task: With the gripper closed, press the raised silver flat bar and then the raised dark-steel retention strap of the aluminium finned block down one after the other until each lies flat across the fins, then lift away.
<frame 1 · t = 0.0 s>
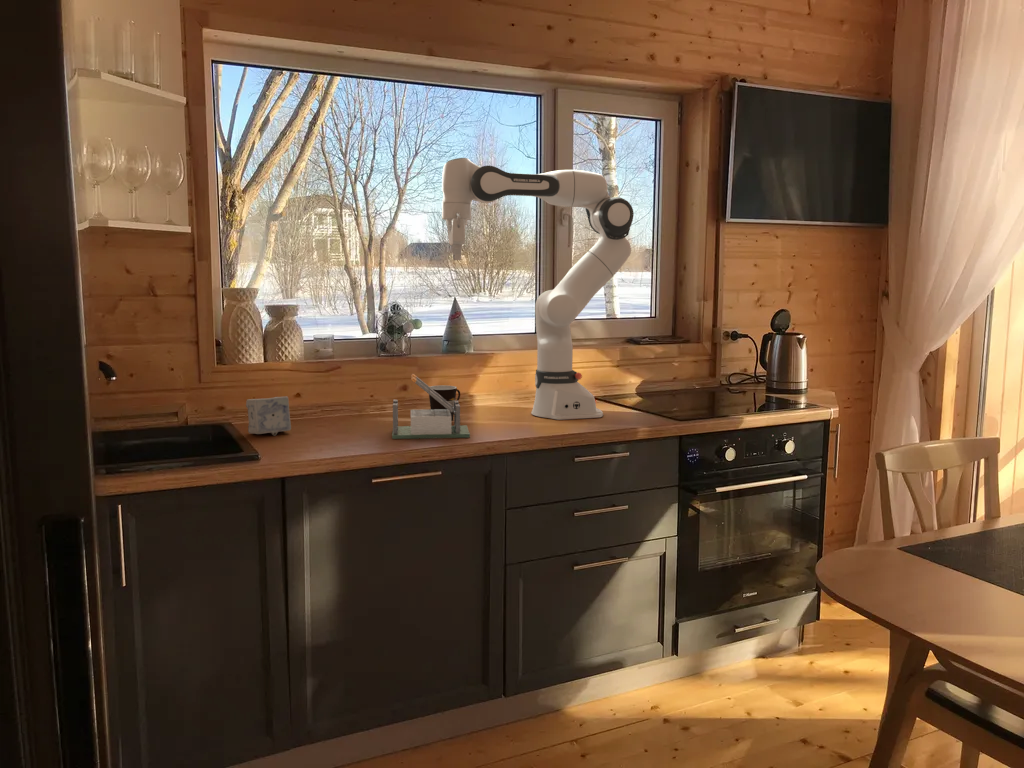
hand: (456, 260, 246), 48 cm above the worktop, fingers open, 8 cm apart
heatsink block: (436, 433, 227), on the worktop
incense holder: (269, 434, 225), on the worktop
strap 2: (432, 394, 222), point 12 cm above the worktop, hinge at 40.0°
coffee mug: (447, 420, 247), on the worktop
silver flat bar 1: (431, 391, 228), point 12 cm above the worktop, hinge at 40.0°
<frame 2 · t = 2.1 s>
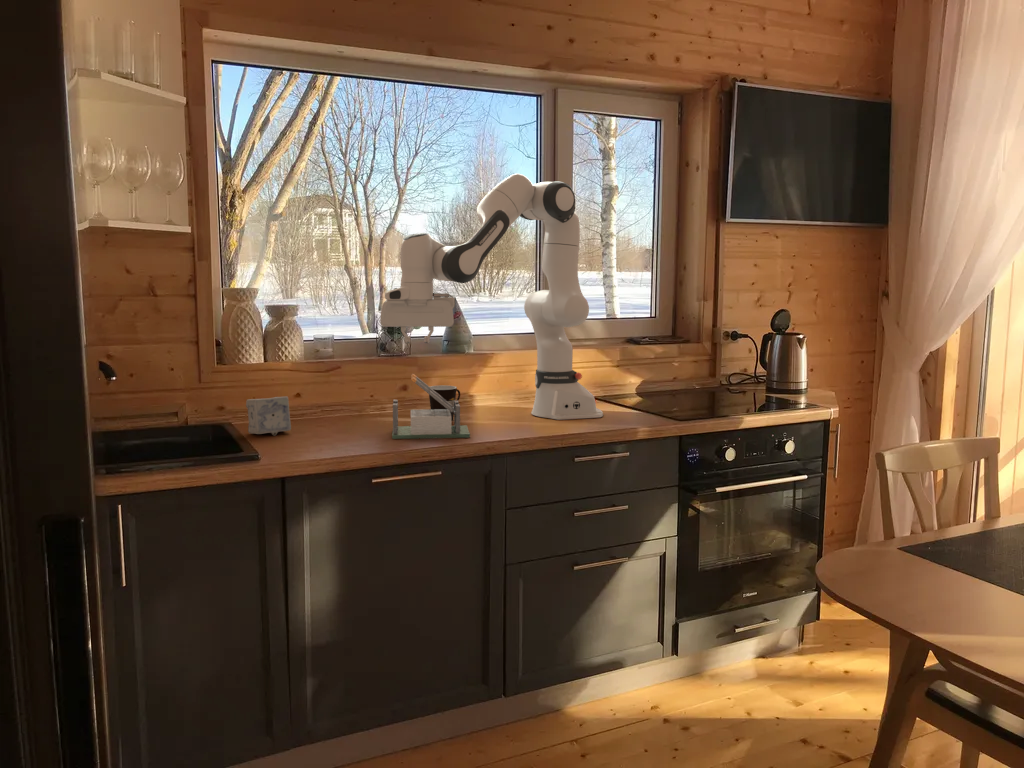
hand: (417, 343, 226), 25 cm above the worktop, fingers open, 4 cm apart
nothing on the worktop moved.
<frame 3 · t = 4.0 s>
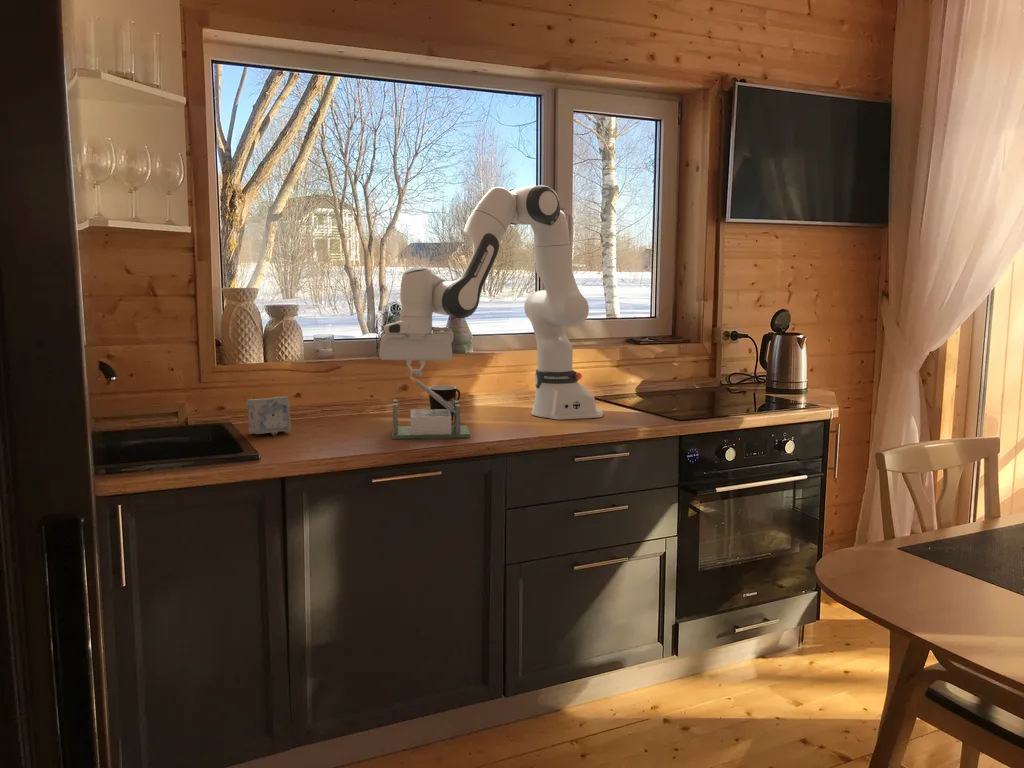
hand: (415, 376, 227), 16 cm above the worktop, fingers closed
silver flat bar 1: (431, 391, 228), point 11 cm above the worktop, hinge at 37.5°, touching gripper
everything else where it was.
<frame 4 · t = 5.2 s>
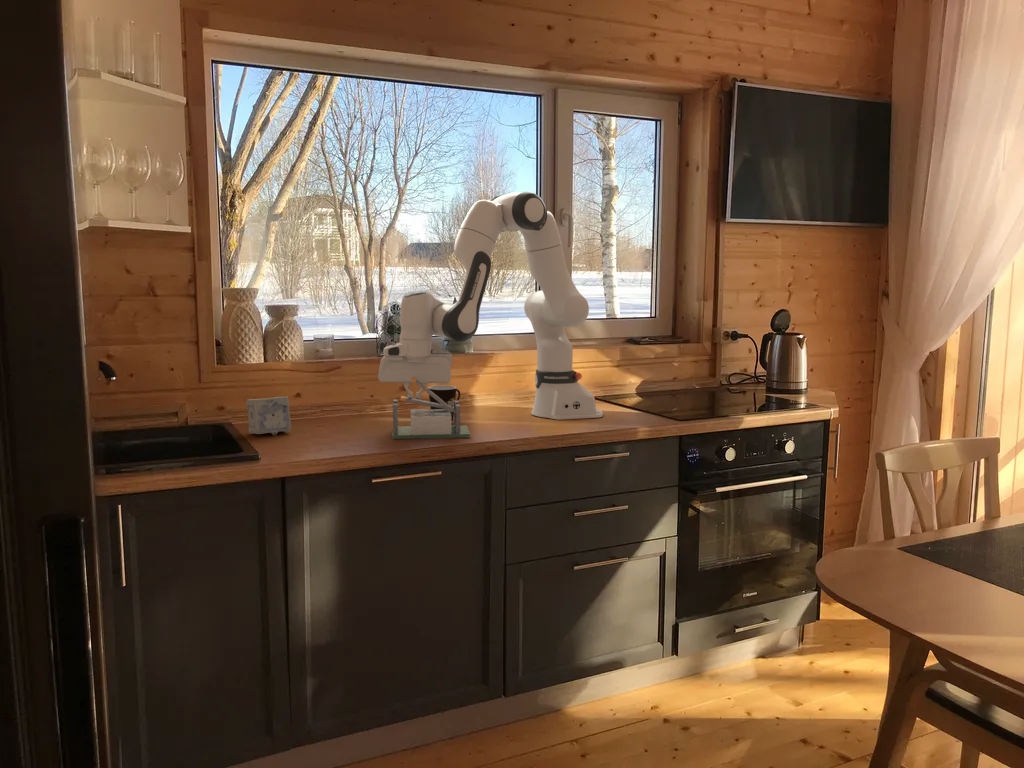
hand: (414, 398, 228), 10 cm above the worktop, fingers closed
silver flat bar 1: (425, 403, 228), point 8 cm above the worktop, hinge at 12.2°, touching gripper
everything else where it was.
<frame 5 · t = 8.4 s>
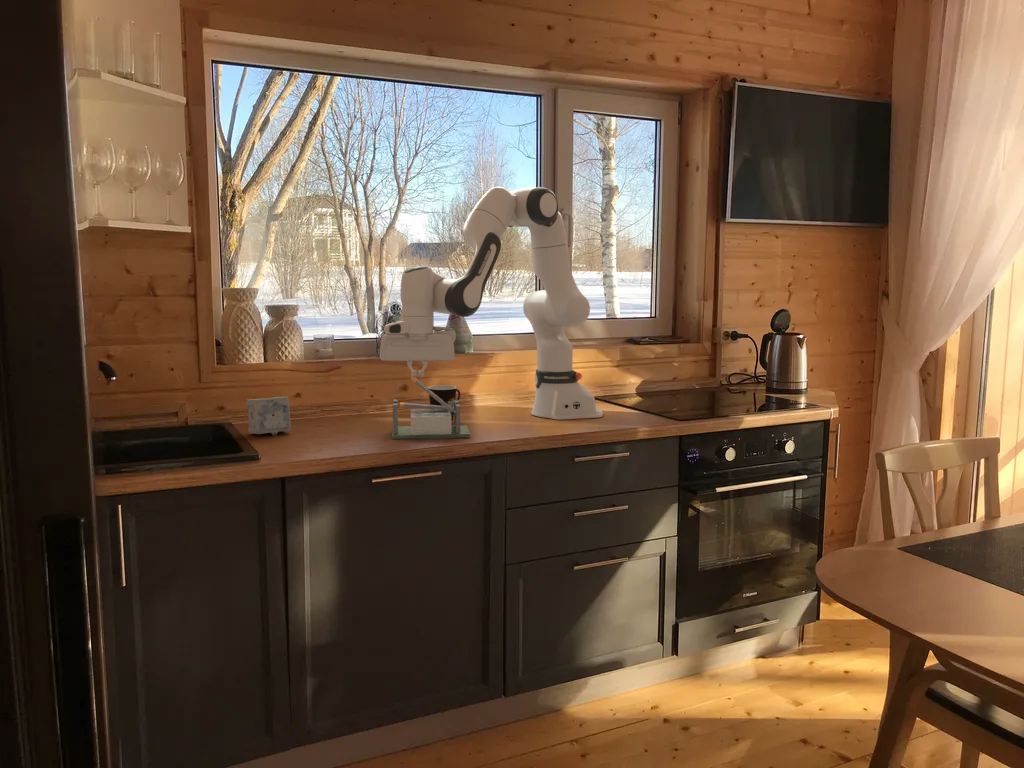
hand: (417, 377, 221), 16 cm above the worktop, fingers closed
strap 2: (432, 394, 222), point 12 cm above the worktop, hinge at 40.0°, touching gripper
silver flat bar 1: (425, 406, 228), point 7 cm above the worktop, hinge at 5.1°
everything else where it was.
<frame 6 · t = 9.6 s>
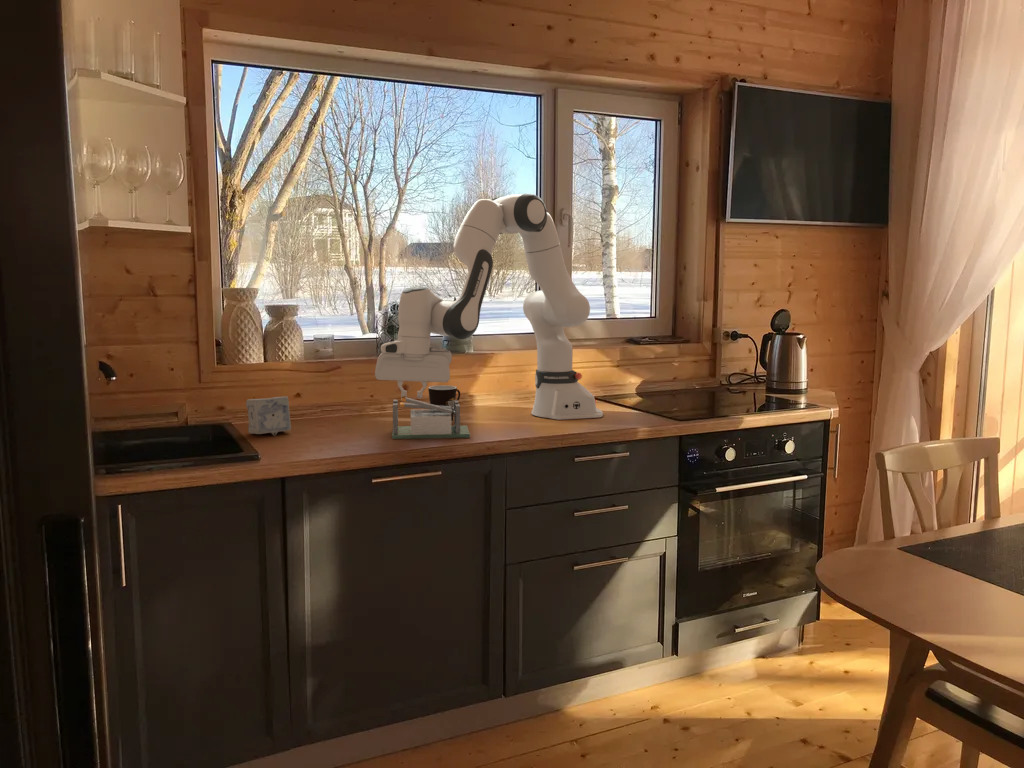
hand: (411, 397, 221), 11 cm above the worktop, fingers open, 3 cm apart
strap 2: (426, 404, 222), point 9 cm above the worktop, hinge at 16.0°, touching gripper
everything else where it was.
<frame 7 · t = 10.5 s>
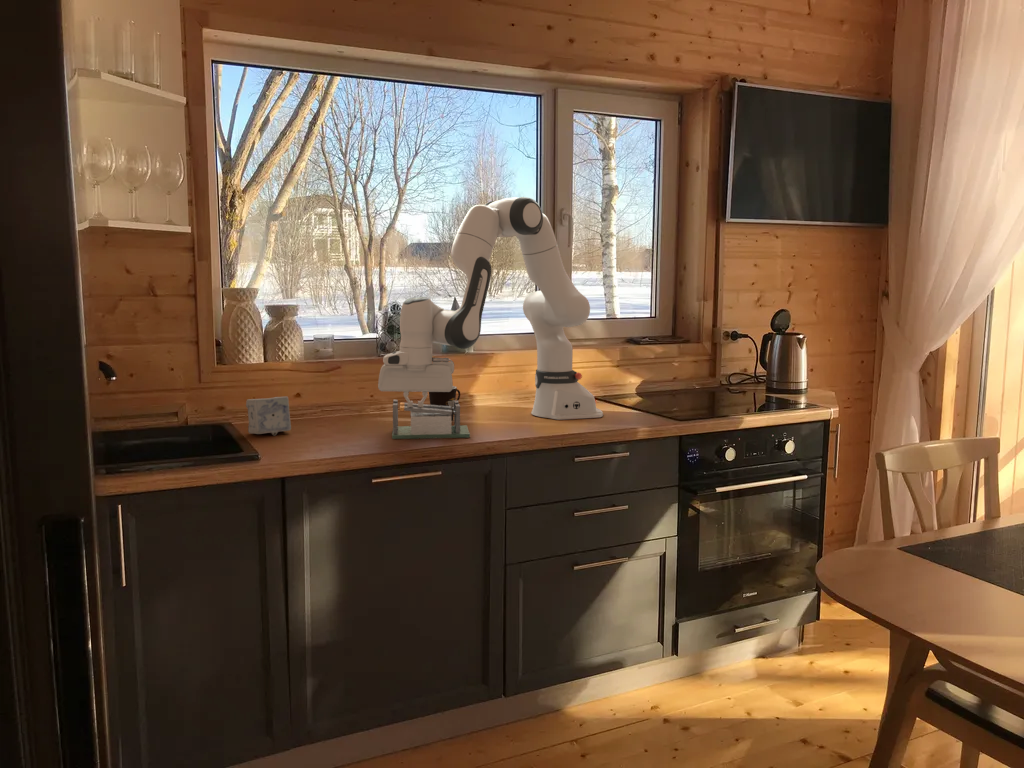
hand: (415, 407, 222), 8 cm above the worktop, fingers closed
strap 2: (425, 410, 223), point 7 cm above the worktop, hinge at 5.5°, touching gripper
everything else where it was.
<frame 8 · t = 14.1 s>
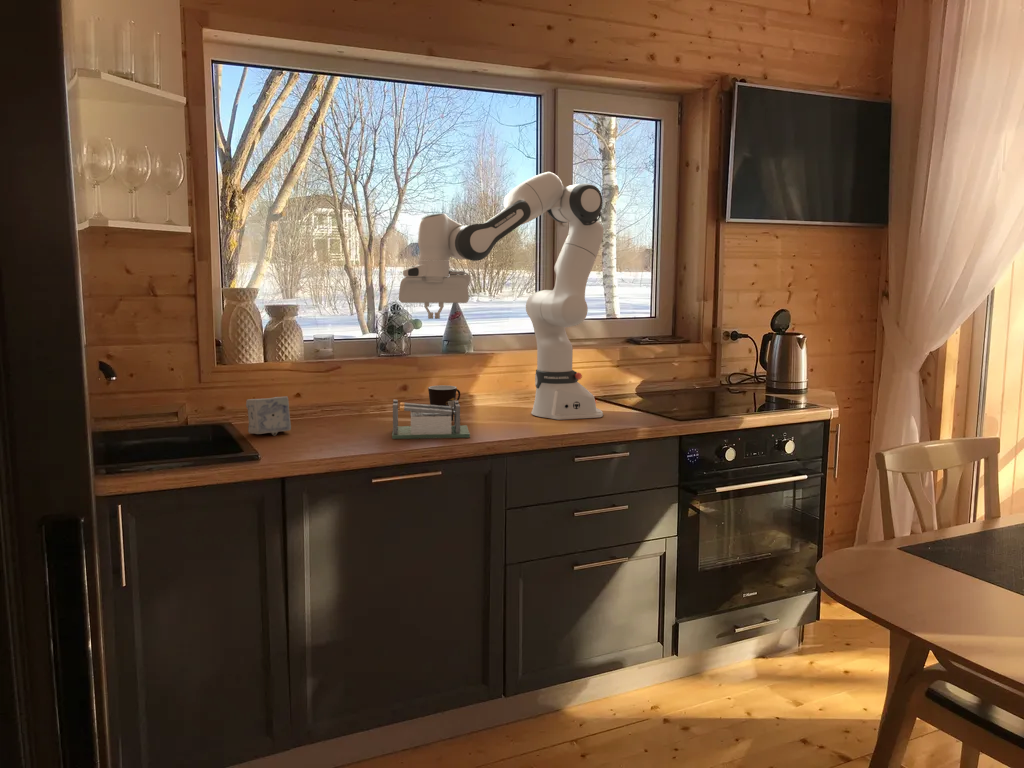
hand: (434, 318, 236), 31 cm above the worktop, fingers closed
strap 2: (425, 410, 223), point 7 cm above the worktop, hinge at 5.3°
everything else where it was.
at the end: silver flat bar 1 at +5° (first picture: +40°); strap 2 at +5° (first picture: +40°) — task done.
